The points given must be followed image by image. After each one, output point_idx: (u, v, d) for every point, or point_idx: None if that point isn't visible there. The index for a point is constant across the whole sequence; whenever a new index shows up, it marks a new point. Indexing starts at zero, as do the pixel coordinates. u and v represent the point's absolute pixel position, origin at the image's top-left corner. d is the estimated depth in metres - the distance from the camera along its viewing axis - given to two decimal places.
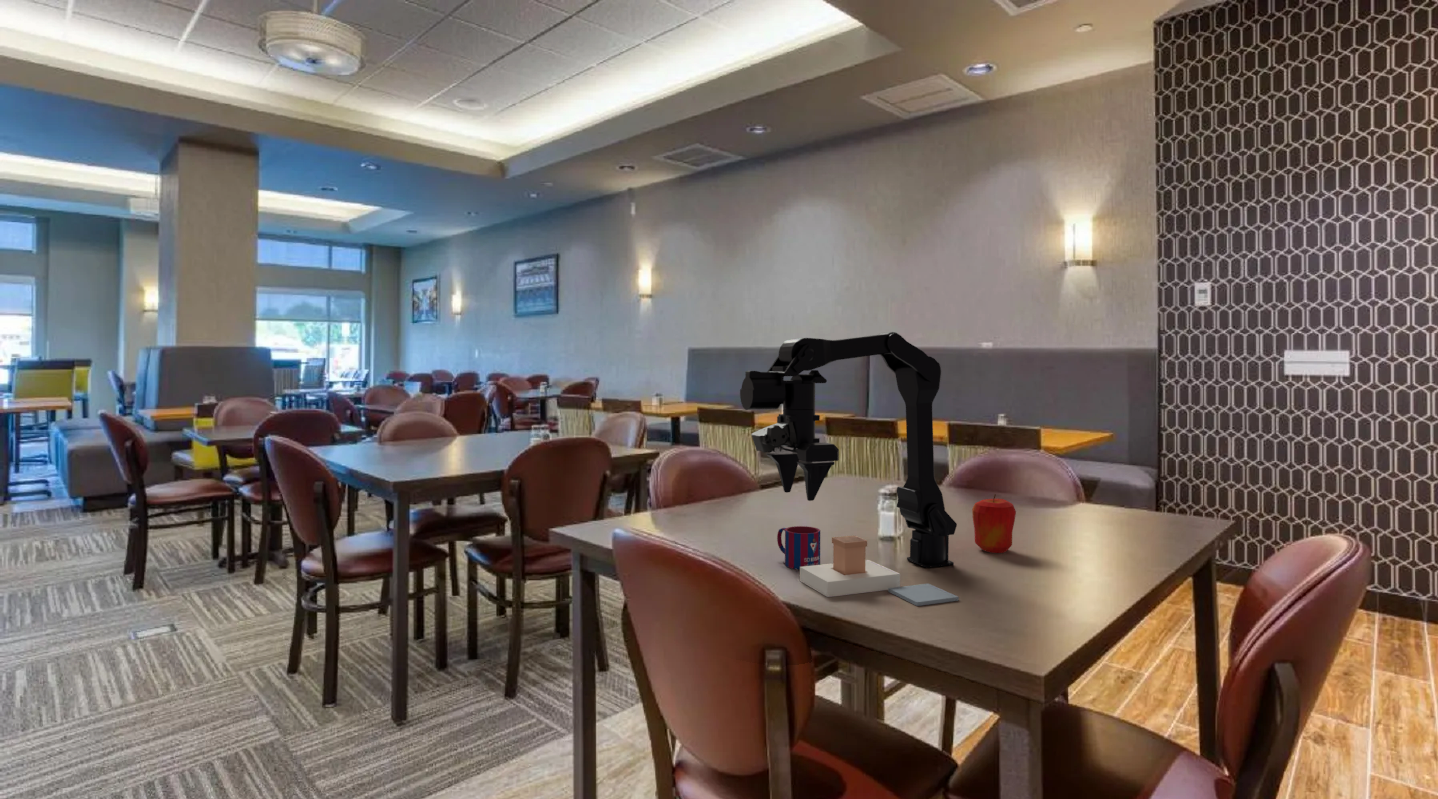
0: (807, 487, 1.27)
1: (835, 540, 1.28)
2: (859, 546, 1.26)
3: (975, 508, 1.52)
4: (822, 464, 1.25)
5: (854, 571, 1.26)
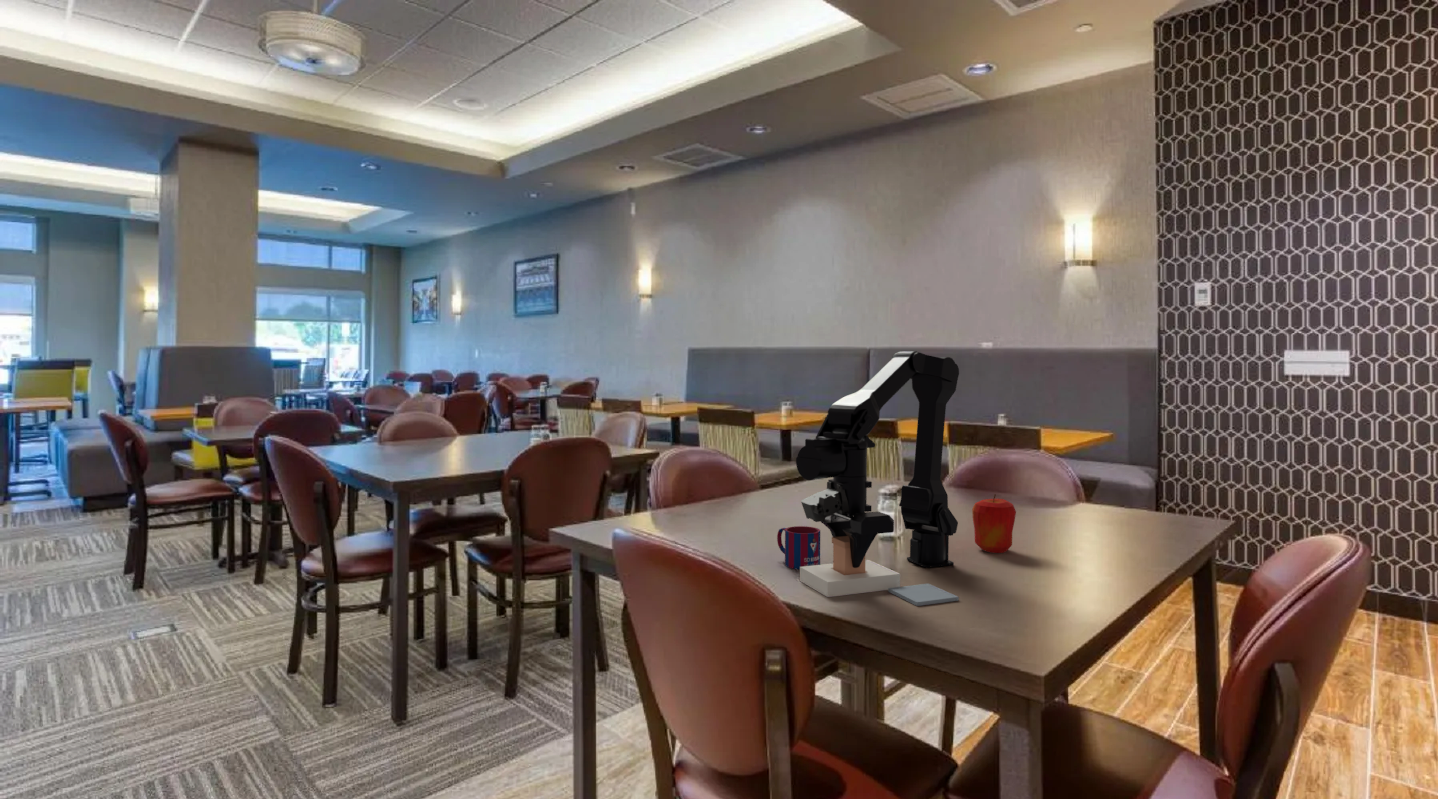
0: (853, 554, 1.25)
1: (835, 540, 1.28)
2: None
3: (975, 508, 1.52)
4: None
5: (854, 571, 1.26)
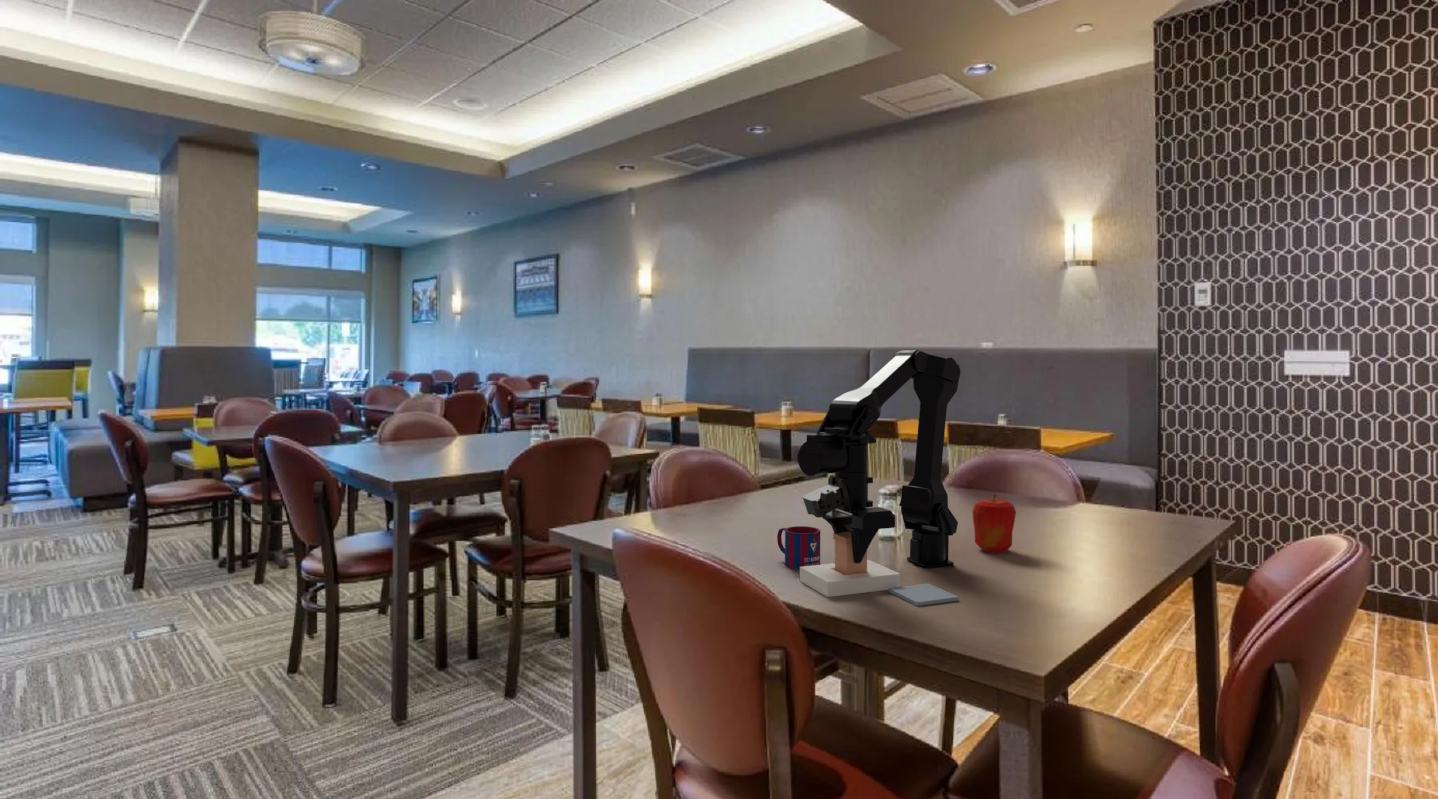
0: (854, 550, 1.25)
1: (836, 536, 1.28)
2: None
3: (975, 508, 1.52)
4: None
5: (856, 567, 1.27)
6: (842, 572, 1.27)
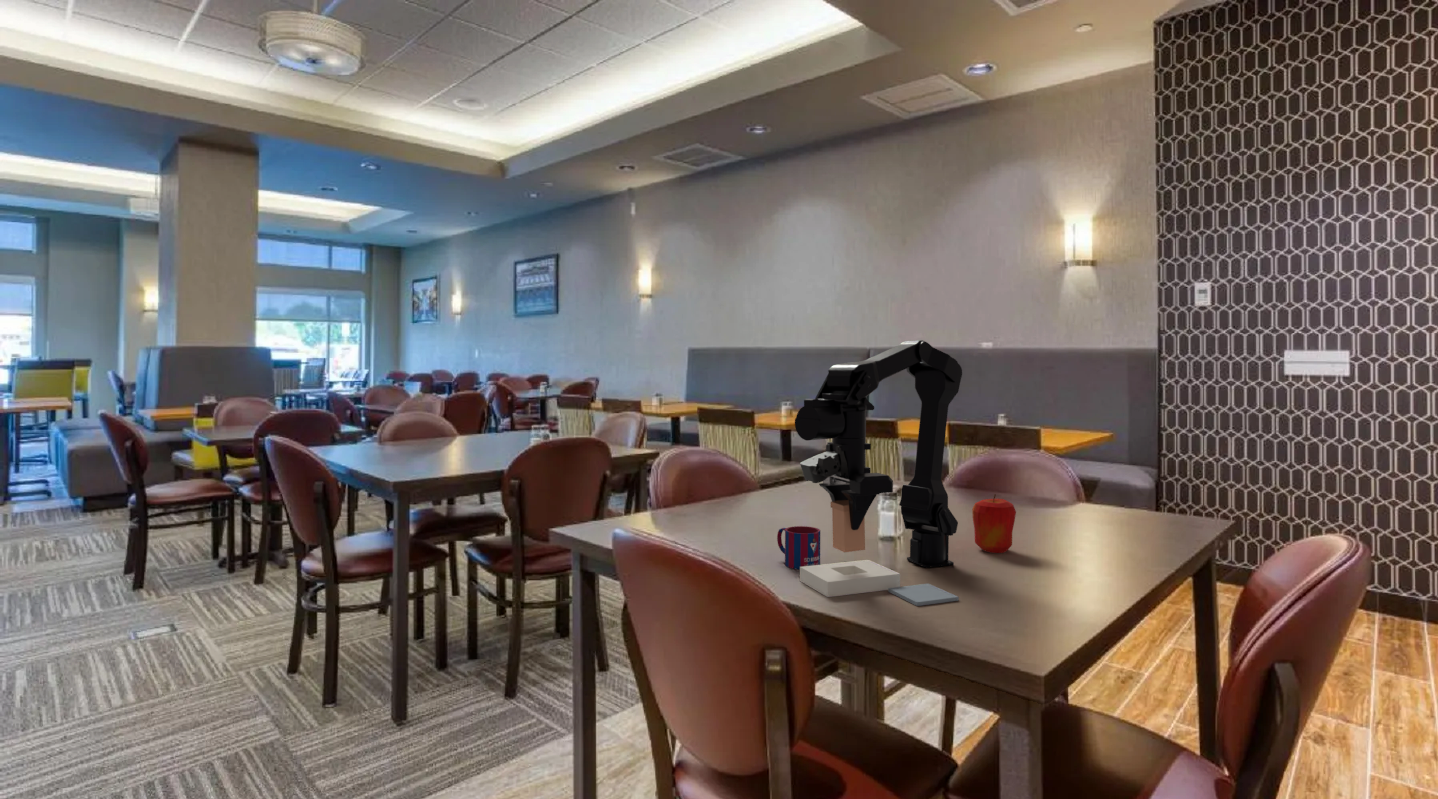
0: (852, 516, 1.25)
1: (834, 504, 1.28)
2: None
3: (975, 508, 1.52)
4: (868, 493, 1.23)
5: (854, 535, 1.26)
6: (840, 540, 1.27)
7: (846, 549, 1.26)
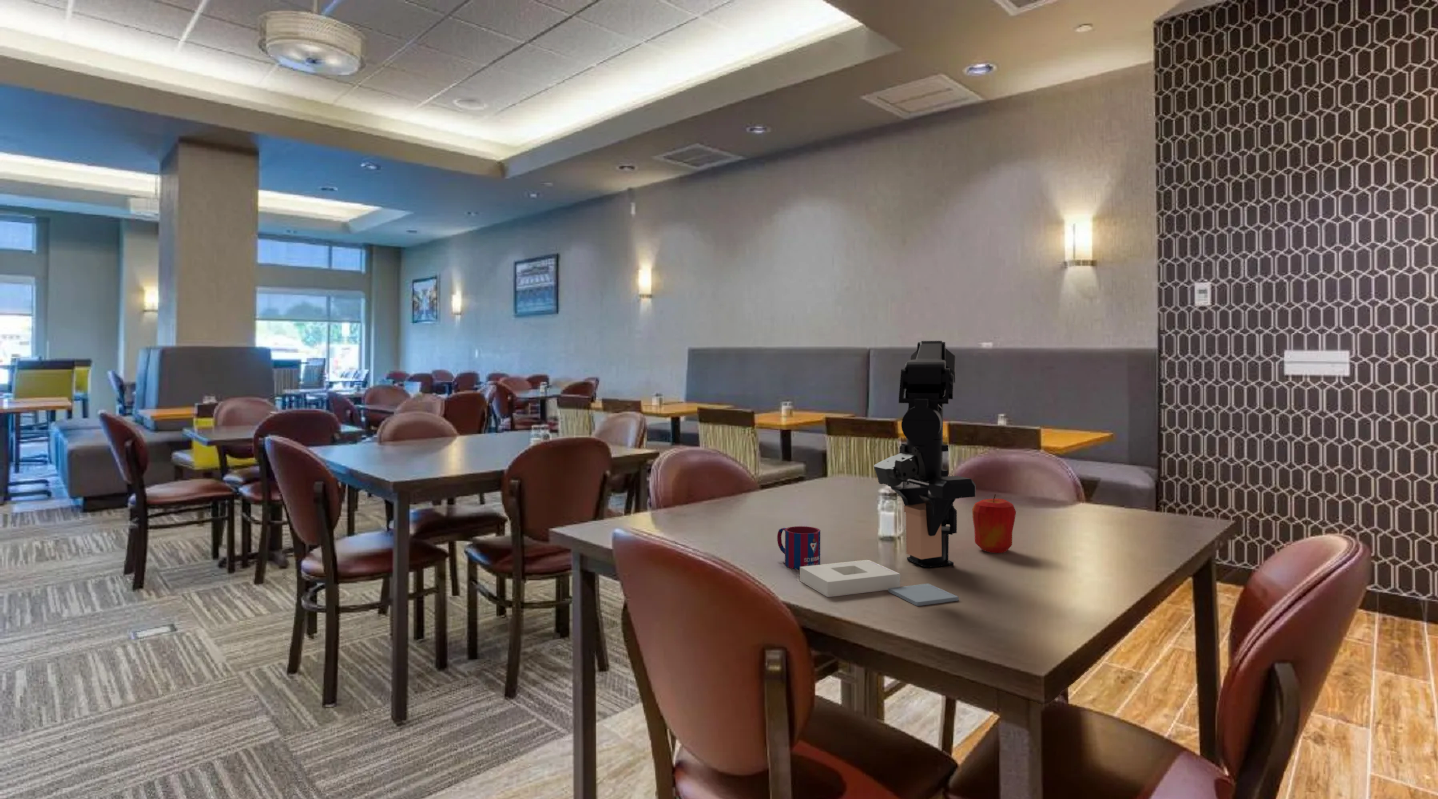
0: (929, 522, 1.19)
1: (908, 508, 1.22)
2: None
3: (975, 508, 1.52)
4: None
5: (930, 541, 1.20)
6: (915, 546, 1.20)
7: (922, 556, 1.19)
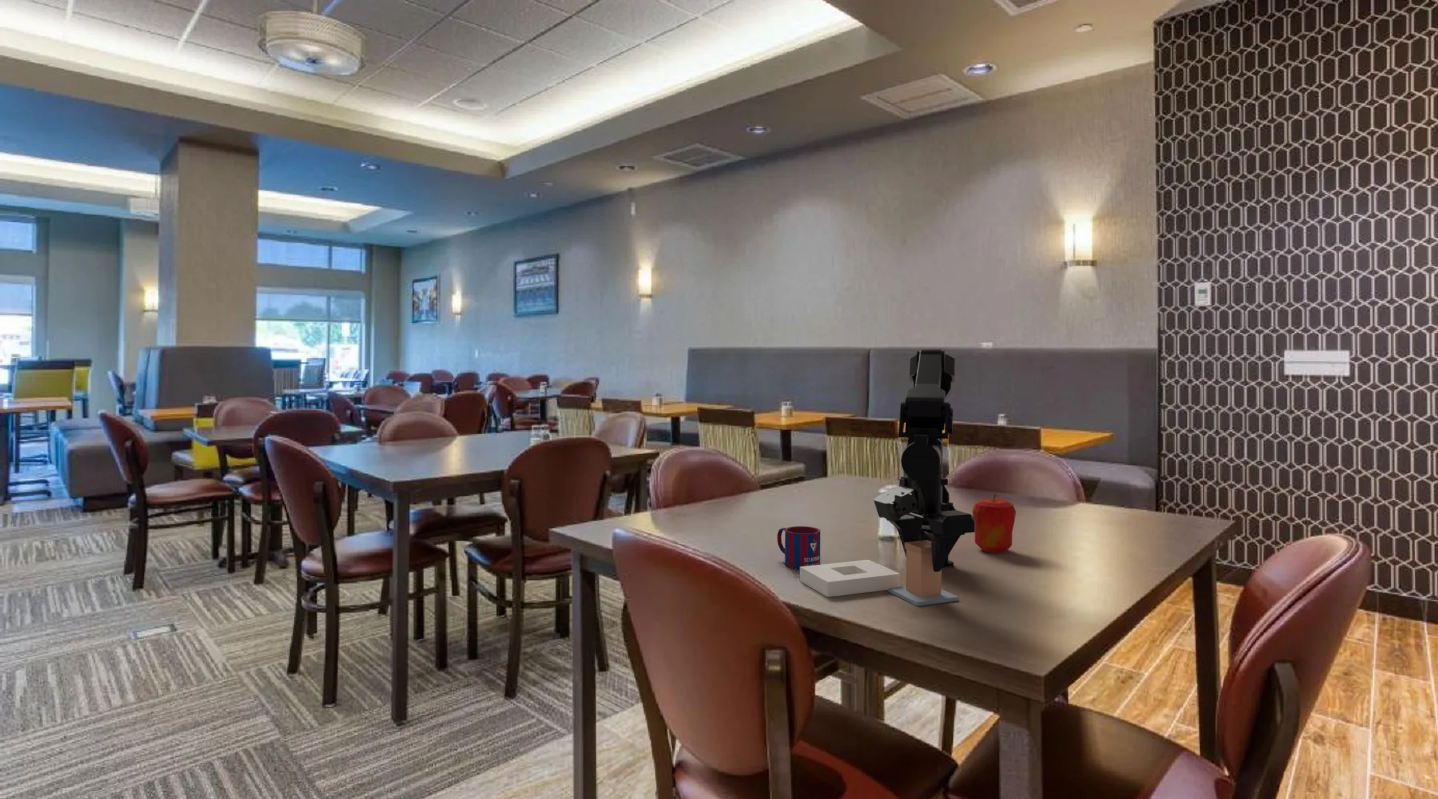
0: (934, 558, 1.17)
1: (909, 545, 1.22)
2: None
3: (975, 508, 1.52)
4: (953, 534, 1.15)
5: (930, 578, 1.20)
6: (915, 583, 1.21)
7: (922, 594, 1.20)
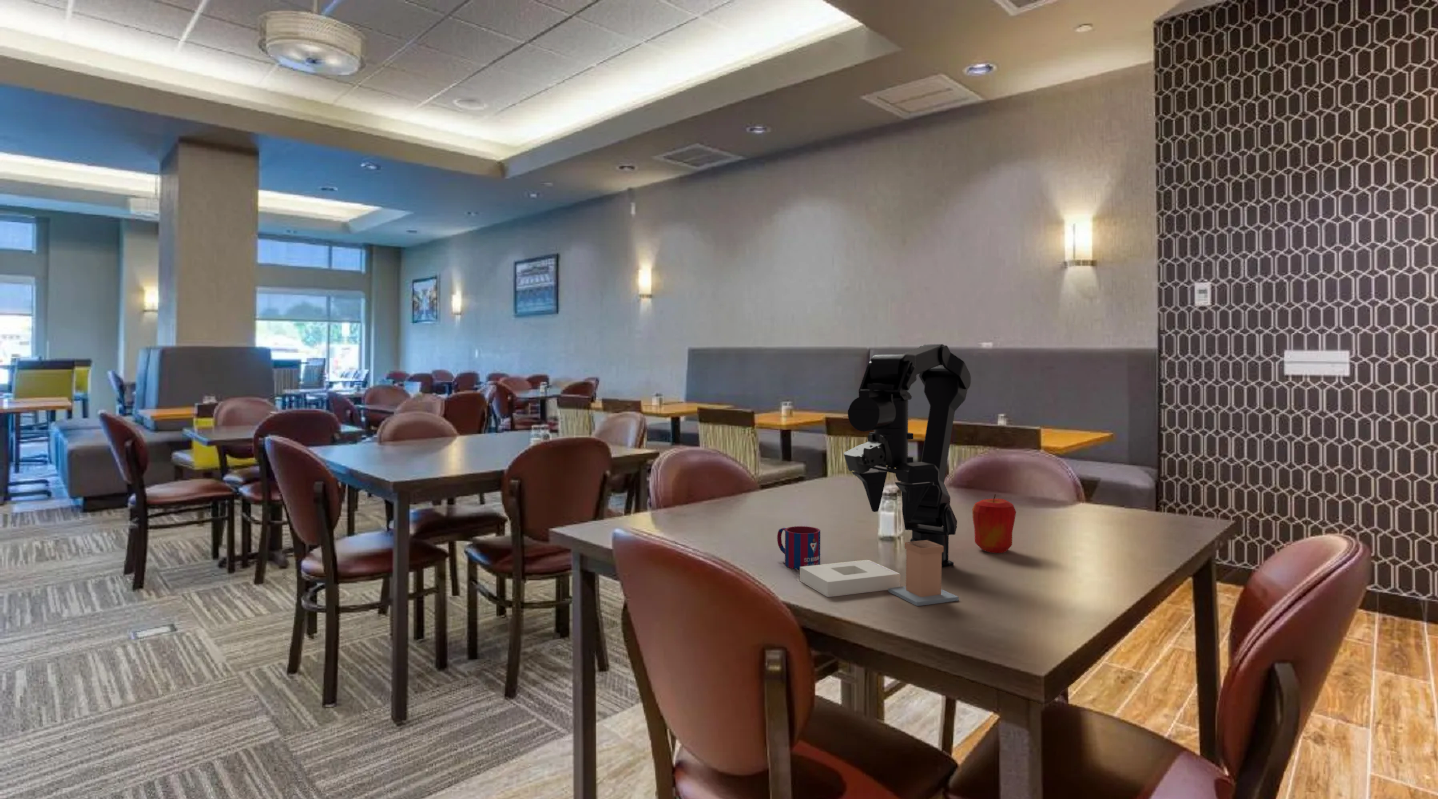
0: (905, 508, 1.23)
1: (909, 545, 1.22)
2: (935, 552, 1.20)
3: (975, 508, 1.52)
4: (922, 485, 1.21)
5: (930, 578, 1.20)
6: (915, 583, 1.21)
7: (922, 594, 1.20)
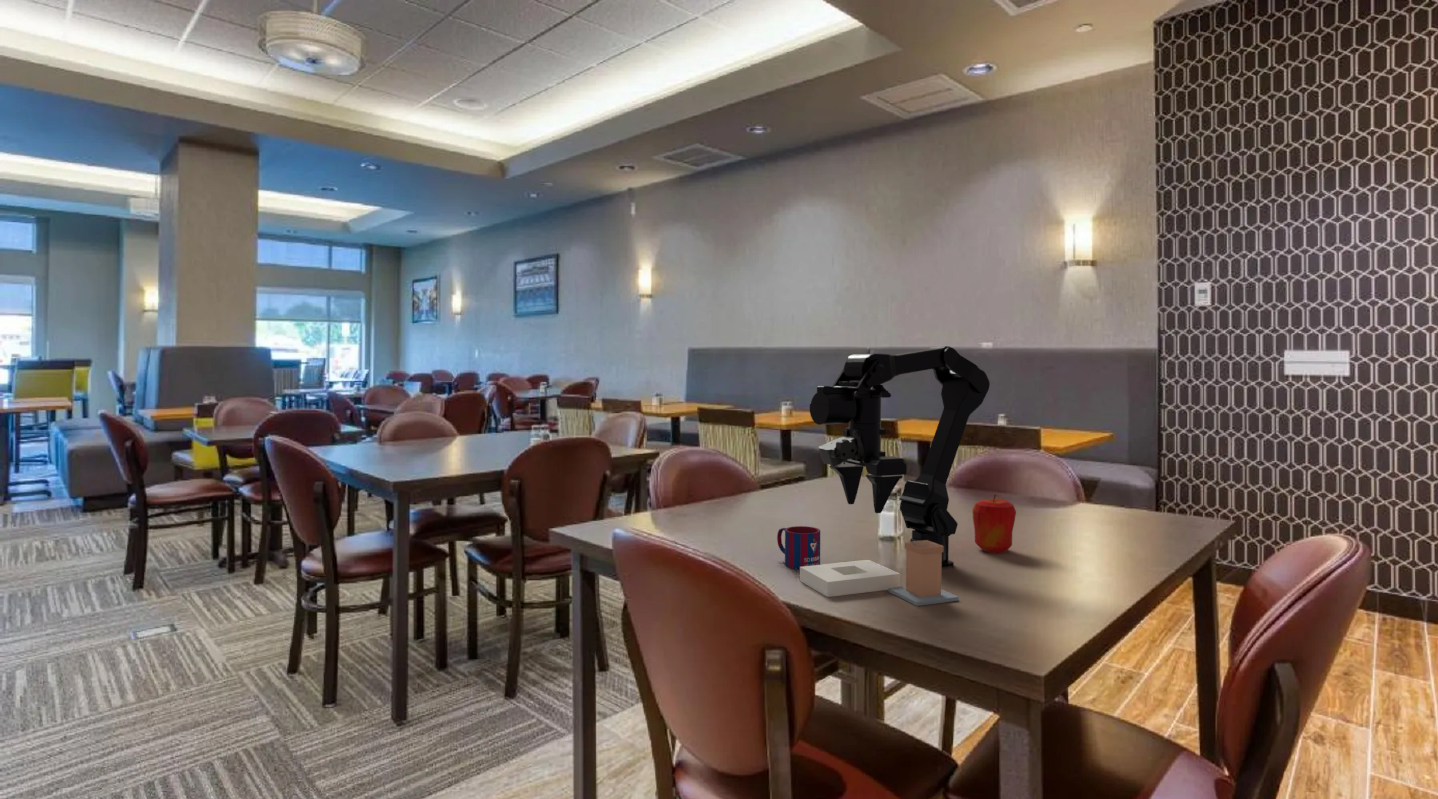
0: (875, 500, 1.29)
1: (909, 545, 1.22)
2: (935, 552, 1.20)
3: (975, 508, 1.52)
4: (891, 478, 1.27)
5: (930, 578, 1.20)
6: (915, 583, 1.21)
7: (922, 594, 1.20)
